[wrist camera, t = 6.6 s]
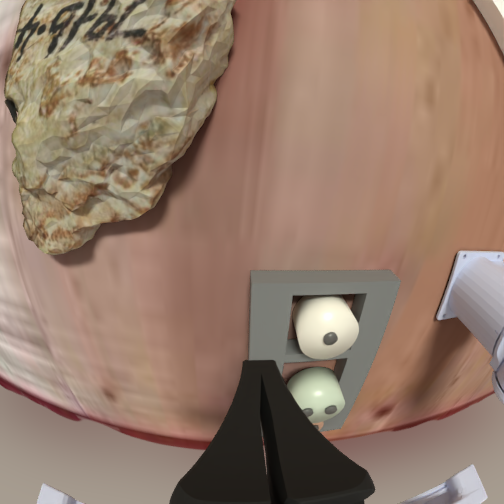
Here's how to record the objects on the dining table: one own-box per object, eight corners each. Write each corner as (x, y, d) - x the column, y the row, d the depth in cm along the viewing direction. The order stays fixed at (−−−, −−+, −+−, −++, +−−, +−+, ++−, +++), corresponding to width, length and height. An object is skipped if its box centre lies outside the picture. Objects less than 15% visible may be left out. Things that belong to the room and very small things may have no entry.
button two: (341, 364, 23) (352, 393, 19) (330, 395, 24) (338, 422, 21) (290, 368, 22) (296, 399, 19) (284, 399, 24) (288, 428, 21)
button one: (350, 288, 22) (366, 312, 18) (340, 332, 24) (351, 358, 20) (295, 289, 22) (304, 315, 18) (289, 335, 23) (296, 363, 20)
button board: (390, 269, 21) (400, 280, 20) (337, 417, 30) (340, 428, 28) (250, 270, 21) (251, 283, 19) (246, 424, 29) (246, 436, 28)
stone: (249, -76, 6) (205, 300, 15) (248, -35, 12) (214, 260, 21) (18, -16, 5) (-11, 266, 14) (51, 0, 10) (27, 242, 20)
